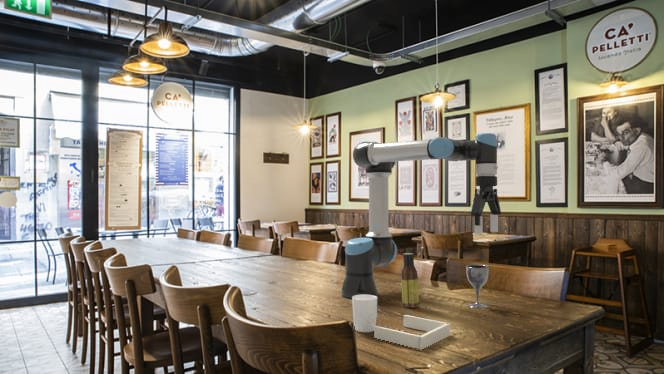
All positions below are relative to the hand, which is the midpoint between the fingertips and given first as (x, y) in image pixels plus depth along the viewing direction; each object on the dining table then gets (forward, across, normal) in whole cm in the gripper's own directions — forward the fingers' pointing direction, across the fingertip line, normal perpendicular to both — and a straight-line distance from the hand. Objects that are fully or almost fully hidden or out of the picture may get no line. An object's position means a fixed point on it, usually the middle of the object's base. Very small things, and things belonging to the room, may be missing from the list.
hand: (486, 233), depth 165 cm
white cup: (+27, -50, +17) cm, 60 cm away
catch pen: (+27, -47, +2) cm, 54 cm away
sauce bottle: (+28, -17, +22) cm, 39 cm away
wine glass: (+28, +1, +4) cm, 28 cm away
